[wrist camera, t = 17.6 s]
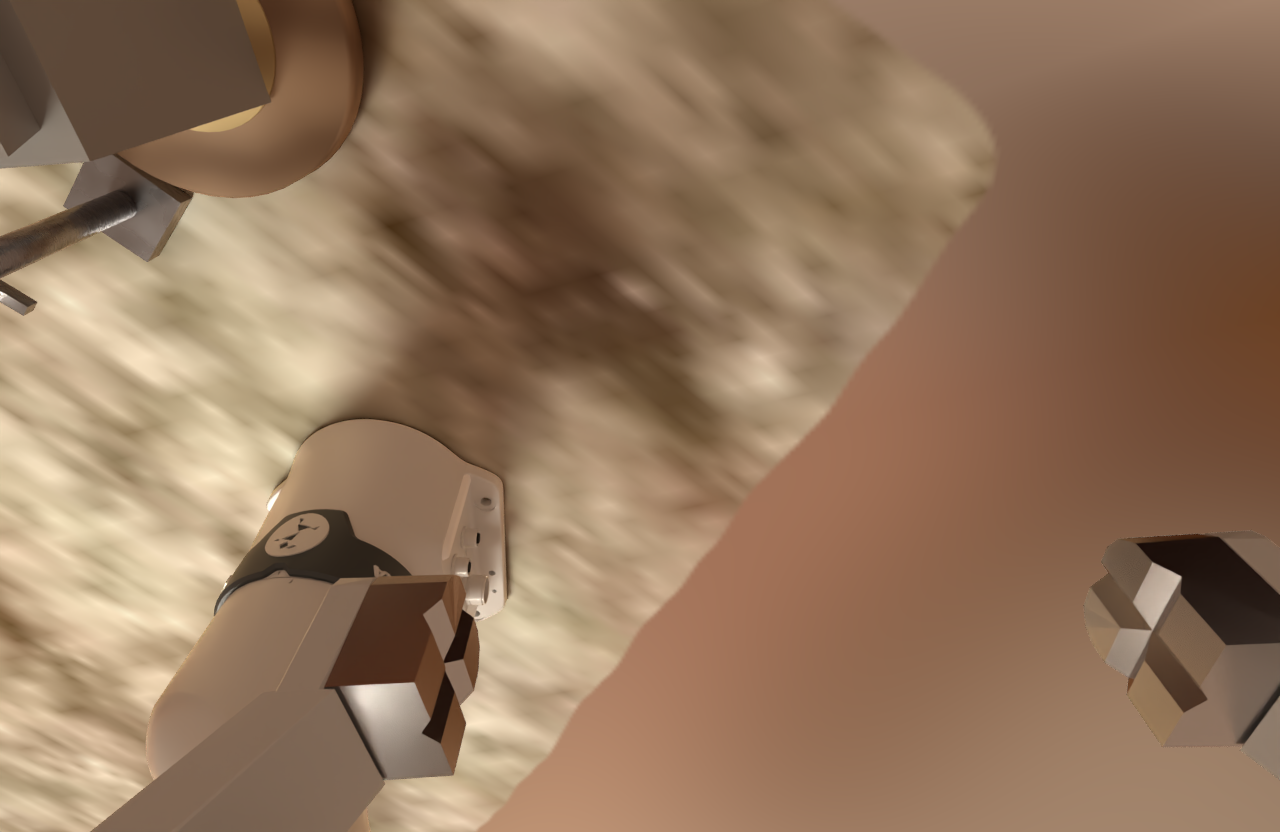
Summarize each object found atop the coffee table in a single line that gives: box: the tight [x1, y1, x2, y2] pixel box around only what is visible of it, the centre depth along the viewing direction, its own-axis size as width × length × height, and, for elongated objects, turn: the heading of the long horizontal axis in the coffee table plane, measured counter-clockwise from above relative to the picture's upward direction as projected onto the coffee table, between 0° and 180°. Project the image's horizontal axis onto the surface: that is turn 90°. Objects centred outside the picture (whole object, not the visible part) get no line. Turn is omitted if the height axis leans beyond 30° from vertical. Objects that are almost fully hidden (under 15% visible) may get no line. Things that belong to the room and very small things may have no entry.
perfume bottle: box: [0, 0, 271, 168], centre depth 25 cm, size 7×7×18 cm
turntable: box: [117, 0, 364, 198], centre depth 34 cm, size 16×16×3 cm
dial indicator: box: [0, 153, 192, 316], centre depth 33 cm, size 5×5×17 cm
